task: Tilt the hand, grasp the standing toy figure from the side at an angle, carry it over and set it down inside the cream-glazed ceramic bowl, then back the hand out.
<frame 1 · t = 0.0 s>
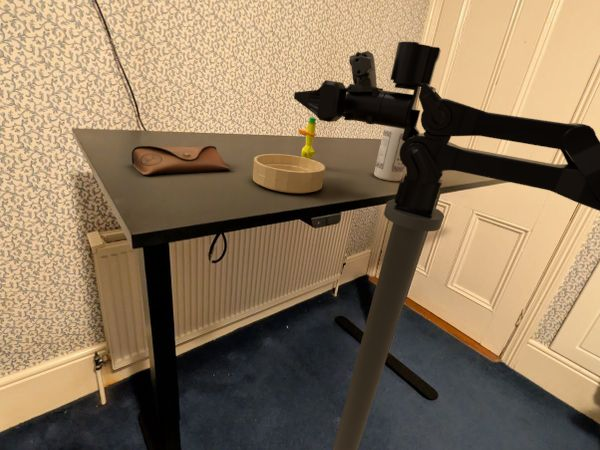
hand: (305, 96, 63), 17 cm above the table, tool horizontal, fingers open, 9 cm apart
toy figure: (303, 166, 83), on the table
bowl: (287, 184, 66), on the table
bath foam: (386, 178, 83), on the table
sunglasses case: (184, 169, 67), on the table
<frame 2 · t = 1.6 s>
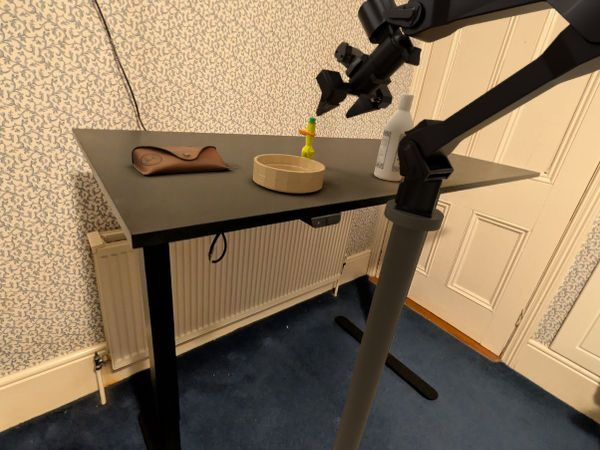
hand: (332, 115, 73), 13 cm above the table, tool tilted 45°, fingers open, 9 cm apart
nothing on the table moved.
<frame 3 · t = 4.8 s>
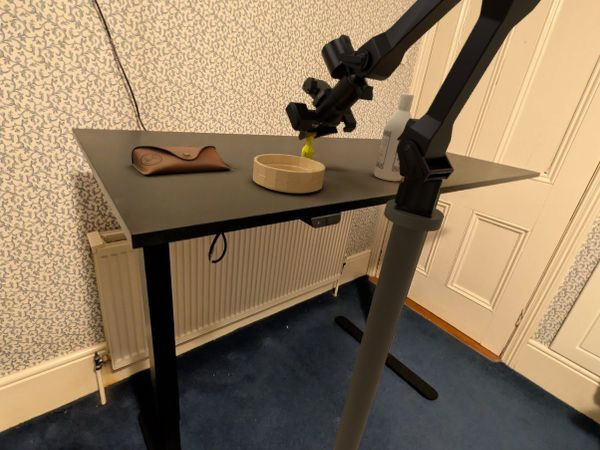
hand: (303, 138, 81), 7 cm above the table, tool tilted 45°, fingers closed on toy figure, 2 cm apart
toy figure: (303, 166, 83), on the table, touching gripper
everything else where it was.
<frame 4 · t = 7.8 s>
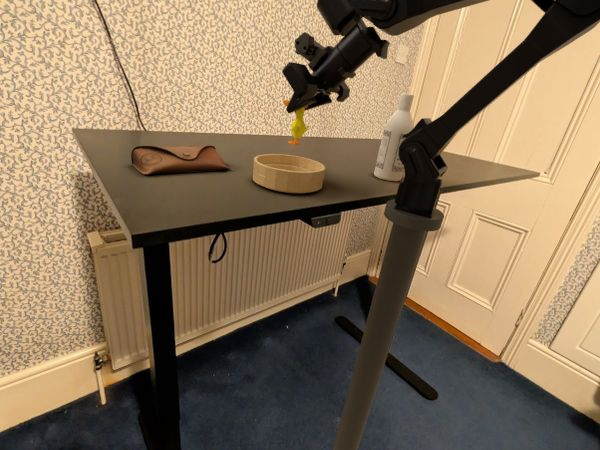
hand: (291, 111, 68), 13 cm above the table, tool tilted 45°, fingers closed on toy figure, 2 cm apart
toy figure: (293, 144, 70), point 7 cm above the table, touching gripper
everything else where it was.
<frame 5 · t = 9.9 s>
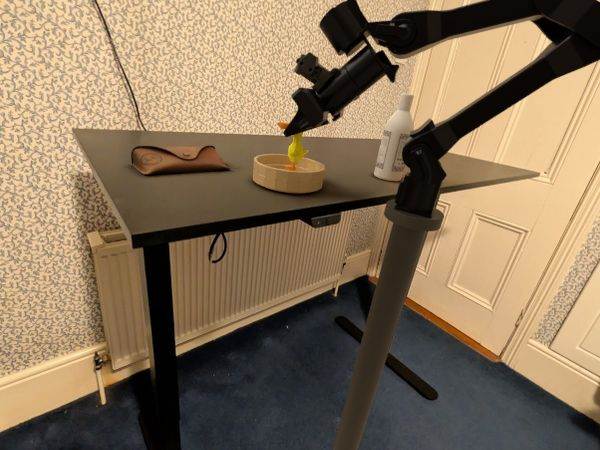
hand: (287, 134, 63), 10 cm above the table, tool tilted 45°, fingers closed on toy figure, 2 cm apart
toy figure: (290, 169, 65), point 3 cm above the table, touching gripper
everything else where it was.
when the fingers open (7 cm above the table, at t = 11.1 s): toy figure stays where it is, resting on bowl.
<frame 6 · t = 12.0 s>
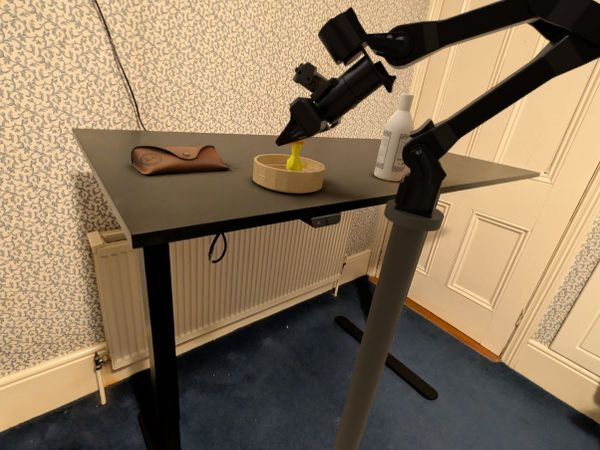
hand: (285, 141, 63), 8 cm above the table, tool tilted 45°, fingers open, 9 cm apart
toy figure: (288, 182, 66), resting on bowl
everything else where it was.
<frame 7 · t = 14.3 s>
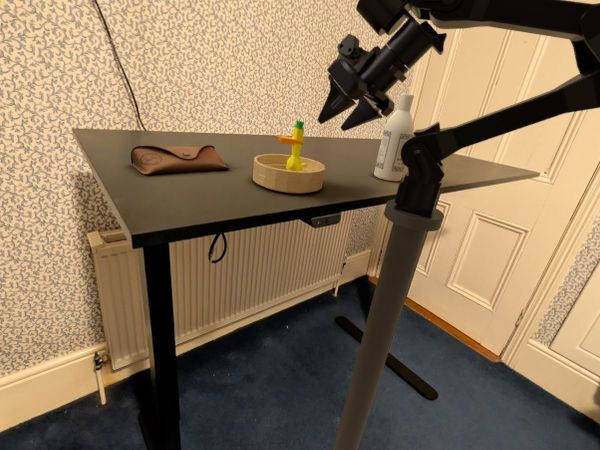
hand: (331, 125, 61), 13 cm above the table, tool tilted 35°, fingers open, 9 cm apart
nothing on the table moved.
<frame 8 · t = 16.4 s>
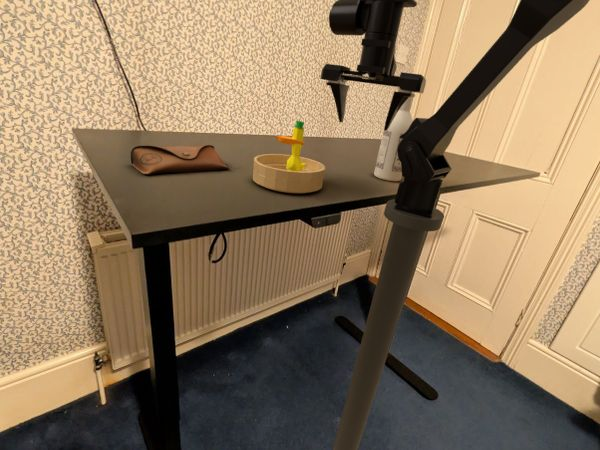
hand: (362, 126, 64), 13 cm above the table, tool pointing down, fingers open, 9 cm apart
nothing on the table moved.
at the end: toy figure inside the target area in the bowl (0.2 cm from its centre), point 0.4 cm above the bowl's base; the gripper is holding nothing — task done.
